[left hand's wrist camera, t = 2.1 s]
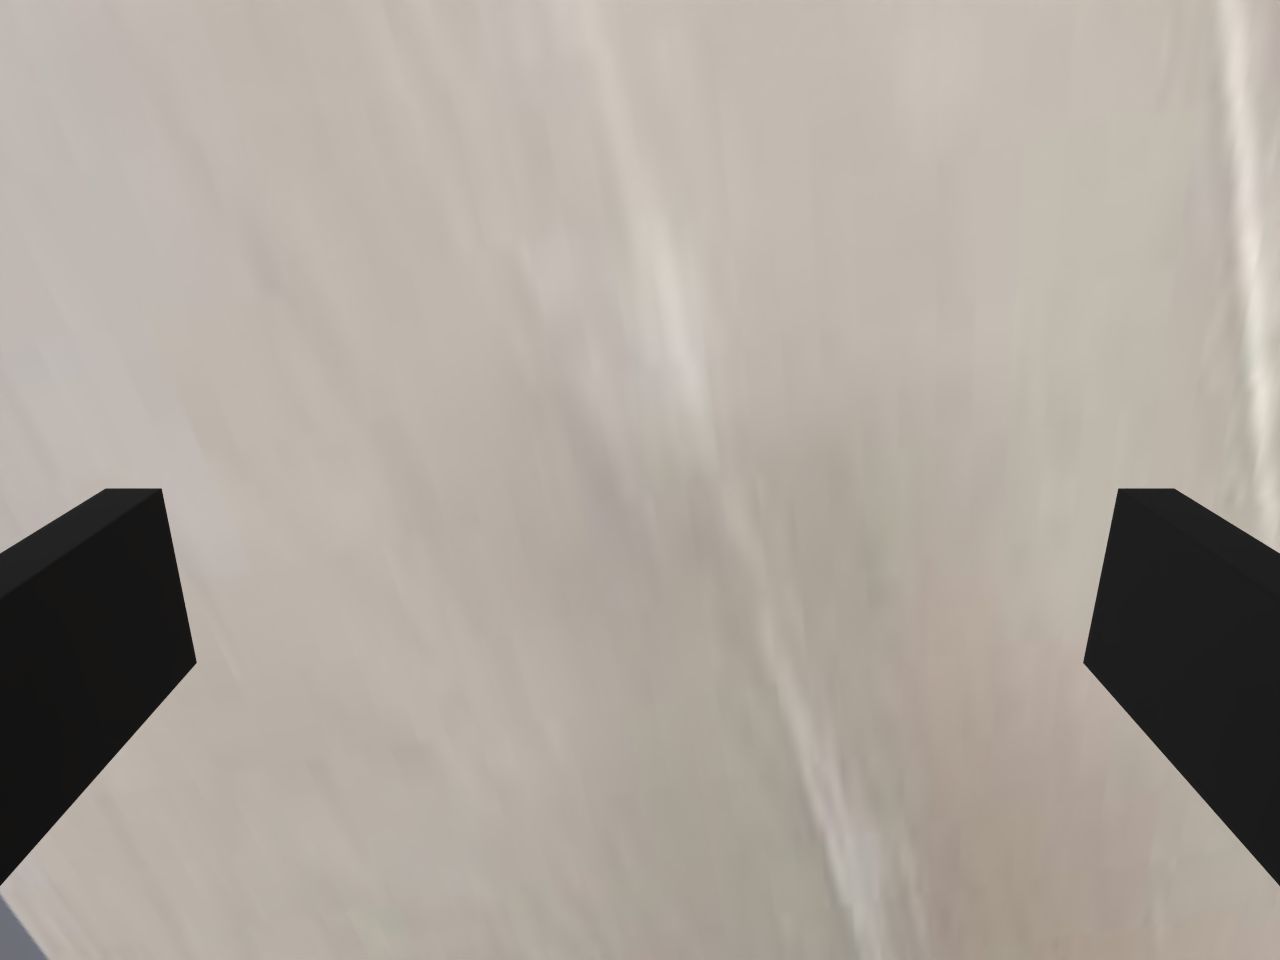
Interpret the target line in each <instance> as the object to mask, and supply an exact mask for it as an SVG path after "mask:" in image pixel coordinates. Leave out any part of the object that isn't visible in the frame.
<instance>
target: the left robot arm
mask: <svg viewBox="0 0 1280 960" xmlns="http://www.w3.org/2000/svg"><path fill="white" fill-rule="evenodd" d="M196 663H197V662H196V657H195V652H194V647H193V642H192V637H191V632H190V627H189V622H188V617H187V612H186V607H185V602H184V597H183V592H182V587H181V582H180V577H179V572H178V567H177V562H176V558H175V553H174V548H173V543H172V538H171V533H170V528H169V523H168V518H167V513H166V508H165V503H164V498H163V493H162V489H104V490H103V491H101V492H99V493H98V494H96V495H95V496H93V497H91V498H90V499H88V500H86V501H85V502H83V503H82V504H80V505H78V506H77V507H75V508H73V509H72V510H70V511H69V512H67V513H65V514H64V515H62V516H60V517H59V518H57V519H56V520H54V521H52V522H51V523H49V524H47V525H46V526H44V527H43V528H41V529H39V530H38V531H36V532H34V533H33V534H31V535H30V536H28V537H26V538H25V539H23V540H21V541H20V542H18V543H17V544H15V545H13V546H12V547H10V548H8V549H7V550H5V551H4V552H2V553H0V886H1V884H2V883H3V882H4V881H5V880H6V879H7V878H8V876H9V875H10V874H11V873H12V872H13V871H14V870H15V869H16V867H17V866H18V865H19V864H20V863H21V862H22V861H23V859H24V858H25V857H26V856H27V855H28V854H29V853H30V851H31V850H32V849H33V848H34V847H35V846H36V845H37V844H38V842H39V841H40V840H41V839H42V838H43V837H44V836H45V834H46V833H47V832H48V831H49V830H50V829H51V828H52V827H53V825H54V824H55V823H56V822H57V821H58V820H59V819H60V817H61V816H62V815H63V814H64V813H65V812H66V811H67V809H68V808H69V807H70V806H71V805H72V804H73V803H74V802H75V800H76V799H77V798H78V797H79V796H80V795H81V794H82V792H83V791H84V790H85V789H86V788H87V787H88V786H89V785H90V783H91V782H92V781H93V780H94V779H95V778H96V777H97V775H98V774H99V773H100V772H101V771H102V770H103V769H104V767H105V766H106V765H107V764H108V763H109V762H110V761H111V760H112V758H113V757H114V756H115V755H116V754H117V753H118V752H119V750H120V749H121V748H122V747H123V746H124V745H125V744H126V743H127V741H128V740H129V739H130V738H131V737H132V736H133V735H134V733H135V732H136V731H137V730H138V729H139V728H140V727H141V725H142V724H143V723H144V722H145V721H146V720H147V719H148V718H149V716H150V715H151V714H152V713H153V712H154V711H155V710H156V708H157V707H158V706H159V705H160V704H161V703H162V702H163V700H164V699H165V698H166V697H167V696H168V695H169V694H170V693H171V691H172V690H173V689H174V688H175V687H176V686H177V685H178V683H179V682H180V681H181V680H182V679H183V678H184V677H185V676H186V674H187V673H188V672H189V671H190V670H191V669H192V668H193V666H194V665H195V664H196ZM1083 663H1084V664H1085V665H1086V666H1087V668H1088V669H1089V670H1090V671H1091V672H1092V673H1093V674H1094V676H1095V677H1096V678H1097V679H1098V680H1099V681H1100V682H1101V683H1102V685H1103V686H1104V687H1105V688H1106V689H1107V690H1108V691H1109V693H1110V694H1111V695H1112V696H1113V697H1114V698H1115V699H1116V700H1117V702H1118V703H1119V704H1120V705H1121V706H1122V707H1123V708H1124V710H1125V711H1126V712H1127V713H1128V714H1129V715H1130V716H1131V718H1132V719H1133V720H1134V721H1135V722H1136V723H1137V724H1138V725H1139V727H1140V728H1141V729H1142V730H1143V731H1144V732H1145V733H1146V735H1147V736H1148V737H1149V738H1150V739H1151V740H1152V741H1153V743H1154V744H1155V745H1156V746H1157V747H1158V748H1159V749H1160V750H1161V752H1162V753H1163V754H1164V755H1165V756H1166V757H1167V758H1168V760H1169V761H1170V762H1171V763H1172V764H1173V765H1174V766H1175V767H1176V769H1177V770H1178V771H1179V772H1180V773H1181V774H1182V775H1183V777H1184V778H1185V779H1186V780H1187V781H1188V782H1189V783H1190V785H1191V786H1192V787H1193V788H1194V789H1195V790H1196V791H1197V792H1198V794H1199V795H1200V796H1201V797H1202V798H1203V799H1204V800H1205V802H1206V803H1207V804H1208V805H1209V806H1210V807H1211V808H1212V809H1213V811H1214V812H1215V813H1216V814H1217V815H1218V816H1219V817H1220V819H1221V820H1222V821H1223V822H1224V823H1225V824H1226V825H1227V827H1228V828H1229V829H1230V830H1231V831H1232V832H1233V833H1234V834H1235V836H1236V837H1237V838H1238V839H1239V840H1240V841H1241V842H1242V844H1243V845H1244V846H1245V847H1246V848H1247V849H1248V850H1249V851H1250V853H1251V854H1252V855H1253V856H1254V857H1255V858H1256V859H1257V861H1258V862H1259V863H1260V864H1261V865H1262V866H1263V867H1264V869H1265V870H1266V871H1267V872H1268V873H1269V874H1270V875H1271V876H1272V878H1273V879H1274V880H1275V881H1276V882H1277V883H1278V884H1279V886H1280V553H1278V552H1276V551H1275V550H1273V549H1272V548H1270V547H1268V546H1267V545H1265V544H1263V543H1262V542H1260V541H1259V540H1257V539H1255V538H1254V537H1252V536H1250V535H1249V534H1247V533H1246V532H1244V531H1242V530H1241V529H1239V528H1237V527H1236V526H1234V525H1233V524H1231V523H1229V522H1228V521H1226V520H1224V519H1223V518H1221V517H1220V516H1218V515H1216V514H1215V513H1213V512H1211V511H1210V510H1208V509H1207V508H1205V507H1203V506H1202V505H1200V504H1198V503H1197V502H1195V501H1194V500H1192V499H1190V498H1189V497H1187V496H1185V495H1184V494H1182V493H1181V492H1179V491H1177V490H1176V489H1118V493H1117V498H1116V503H1115V508H1114V513H1113V518H1112V523H1111V528H1110V533H1109V538H1108V543H1107V548H1106V553H1105V558H1104V562H1103V567H1102V572H1101V577H1100V582H1099V587H1098V592H1097V597H1096V602H1095V607H1094V612H1093V617H1092V622H1091V627H1090V632H1089V637H1088V642H1087V647H1086V652H1085V657H1084V662H1083Z"/></svg>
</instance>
